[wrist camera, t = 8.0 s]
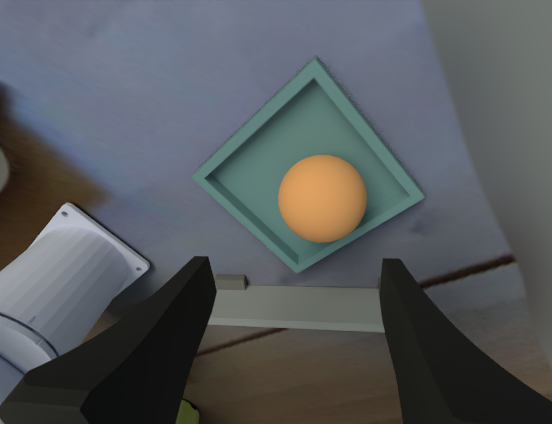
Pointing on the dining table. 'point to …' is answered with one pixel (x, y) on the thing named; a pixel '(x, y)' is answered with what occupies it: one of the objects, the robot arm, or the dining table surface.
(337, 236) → the ball
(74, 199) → the dining table surface
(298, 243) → the tray
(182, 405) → the plant pot
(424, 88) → the dining table surface
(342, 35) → the dining table surface
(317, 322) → the wall
